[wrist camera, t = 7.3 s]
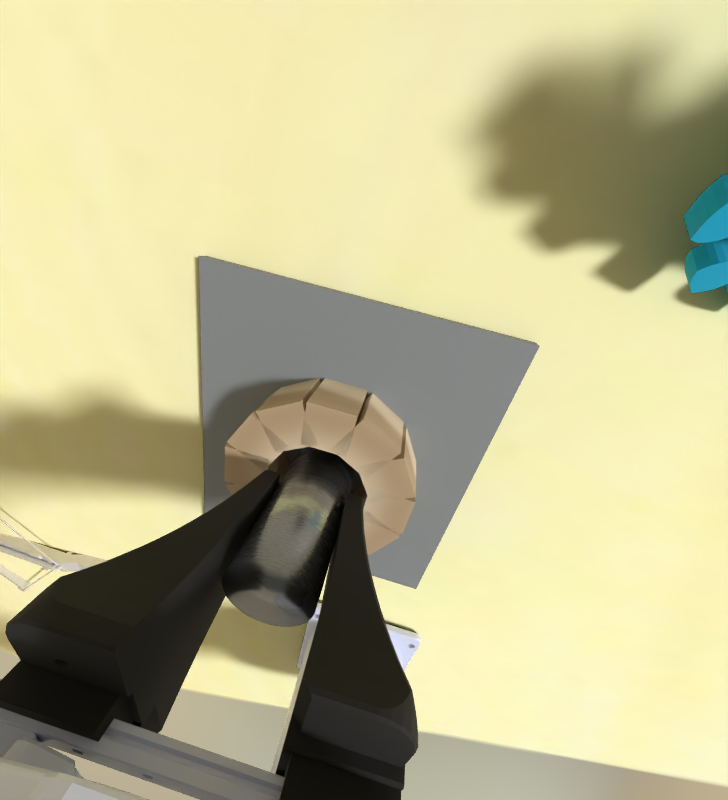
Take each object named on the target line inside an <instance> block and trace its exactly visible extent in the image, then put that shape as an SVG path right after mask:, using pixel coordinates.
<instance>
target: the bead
mask: <svg viewBox="0 0 728 800" xmlns="http://www.w3.org/2000/svg"><path fill="white" fill-rule="evenodd" d="M366 394H367V390H366V389H362V388H359V387H355V386H352V385H348V384H344V383H341V382H337V381H334V380H330V379H326V378H325V379H324V380H323V381H322V383H321V381H320V378H317V379H313V380H309V381H305V382H300V383H296V384H292V385H288V386H284V387H281V388H280V389H279V390H276V391H275V392H274V393H273V394H272V395H271V396H270V397H268V398H267V399H266V400H265V401H264V402H263V403H262V404H261V405H260V406H259V407H258V408H257V409H256V410H255V411H254V412H253V413H251V414H250V416H249V417H248V418H247V419H246V420H245V421H244V423H243V424H242V425H241V426H240V427H239V428H238V429H237V431H236V432H235V433H234V434H233V435H232V436H231V437H230V439H229V440H228V441H227V443H228V444H227V445H226V446H225V477H224V481H227V482H228V483H227V484H226V487H227V488H228V490H229V492H230V493H231V495H233V494H234V493H236V492H237V491H239V490H240V489H241V488H243V487H244V486H245V485H247V484H248V483H249V482H251V481H252V480H253V479H254V478H256V477H257V476H258V475H259V474H261V473H262V472H263V471H265V470H270V471H273V472H276V473H280V480H279V483H280V482H281V480H282V478H283V477H284V475H285V473H286V472H287V470H288V469H289V467H290V465H291V464H292V463H291V461H290V459H289V457H288V455H287V453H288V450H293V449H299V448H304V447H312V448H316V449H319V450H323V451H326V452H330V453H333V454H337V455H338V456H340V457H341V458H342V459H343V460H344V461H345V462H347V463H348V464H349V465H350V466H351V467H353V468H354V469H355V470H356V471H357V472H358V473H359V474H360V477H361V479H362V482H363V484H362V485H360V486H359V487H358V488H356V489H355V490H351V491H350V494H351V495H354V496H358V497H361V498H363V500H364V508H363V519H364V533H365V541H366V548H367V554H368V555H370V554H372V553H374V552H375V551H377V550H379V549H381V548H382V547H384V546H386V545H387V544H389V543H391V542H392V541H394V540H396V539H397V538H399V534H400V533H401V534H403V531H404V529H405V526H406V524H407V522H408V519H409V517H410V514H411V512H412V510H413V507H414V505H415V502H416V458H415V455H414V451H413V448H412V444H411V440H410V437H409V433H408V430H407V426H406V427H403V424H404V422H403V421H402V420H401V419H400V418H399V417H398V416H397V415H396V414H395V413H394V412H393V411H392V410H391V409H389V408H388V407H387V406H386V405H385V404H384V403H383V402H382V401H381V400H380V399H379V398H378V397H377V396H376V395H374V394H373V393H372V394H371V395H370V396H369V397H368V398H366ZM365 398H366V399H365Z"/></svg>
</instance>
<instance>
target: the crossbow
mask: <svg viewBox="0 0 728 800" xmlns="http://www.w3.org/2000/svg"><path fill="white" fill-rule="evenodd" d="M0 520H1V521H2V522H4V523H5V524H6V525H7V526H9V527H10V528H11V529H12V530H13V531H15V532H16V533H17V534H18V535H20V536H21V537H22V538H23V539H21V538H17V537H13V536H9V535H5V534H2V533H0V551H1V552H4V553H7V554H10V555H12V556H15V557H18V558H21V559H24V560H26V561H29V562H32V563H35V564H37V565H40V566H43V568H42V569H45V570H48V568H49V569H51V571H50V572H52V571H53V570H55V569H56V570H55V571H57V570H62V571H80V570H83V569H86V568H88V567H91V566H94V565H97V564H100V563H103V562H105V561H107V560H103V559H99V558H95V557H91V556H87V555H83V554H76V555H74V553H73V552H72V551H69V552H67V553H64V552H61V551H58V550H55V549H52V548H50V547H47V546H44V545H41V544H38V543H35V542H32V541H29V540H27V539H26V538H25V537H23V536H22V535H21V534H20V533H18V532H17V531H16V530H15V529H14V528H12V527H11V526H10V525H9V524H8V523H6V522H5V521H4V520H3V519H1V518H0ZM50 572H48V573H47V574H49V573H50ZM0 574H1V575H3V576H4V577H6V578H7V579H9V580H10V581H11V582H13V583H14V584H16V585H17V586H18V588H19V589H20V590H22V591H26V590H27V589H29V588H30V587H31V586H32V585H33V584H34V583H35V582H37V581H38V580H40V579H41V578H43V577H44V576H46V575H47V574H45V575H44V576H42V577H41V578H39V579H38V580H36V581H35V582H33V583H32V584H31V583H30V582H29V581H27V580H25V579H24V578H22V577H21V576H19V575H17V574H16V573H14V572H12V571H11V570H9V569H8V568H6V567H5V566H3V565H2V564H0Z"/></svg>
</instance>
